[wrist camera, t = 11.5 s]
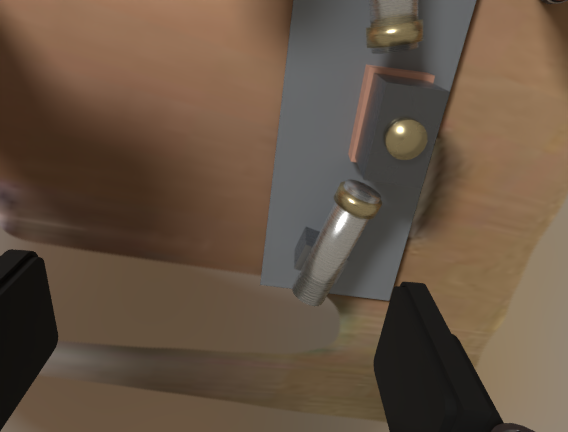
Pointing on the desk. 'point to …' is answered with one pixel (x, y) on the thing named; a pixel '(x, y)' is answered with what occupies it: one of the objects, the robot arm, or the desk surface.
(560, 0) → the lighter
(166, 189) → the desk surface
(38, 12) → the desk surface
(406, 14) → the shaft
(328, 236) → the shaft
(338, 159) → the base plate
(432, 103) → the block
